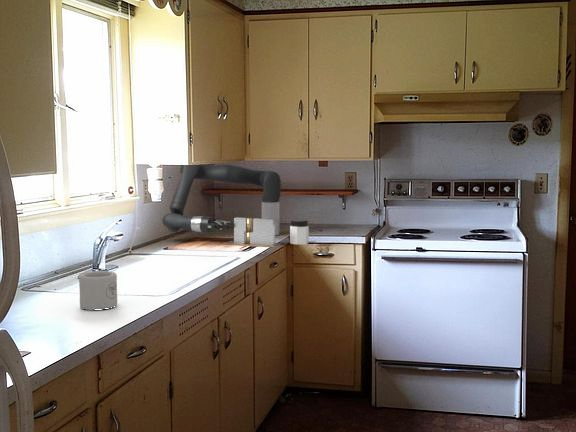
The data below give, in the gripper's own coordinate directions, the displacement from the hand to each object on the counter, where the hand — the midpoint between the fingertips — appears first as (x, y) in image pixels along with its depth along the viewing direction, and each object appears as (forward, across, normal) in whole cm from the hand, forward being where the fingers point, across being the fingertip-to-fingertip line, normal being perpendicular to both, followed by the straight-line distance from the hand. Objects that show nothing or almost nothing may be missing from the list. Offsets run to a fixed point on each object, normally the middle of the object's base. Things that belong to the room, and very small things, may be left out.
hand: (233, 225), depth 324 cm
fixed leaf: (+13, 0, +8) cm, 16 cm away
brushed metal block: (+5, 0, +8) cm, 9 cm away
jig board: (+9, 0, +9) cm, 13 cm away
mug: (+11, -122, +10) cm, 123 cm away
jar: (+29, +11, +10) cm, 32 cm away
